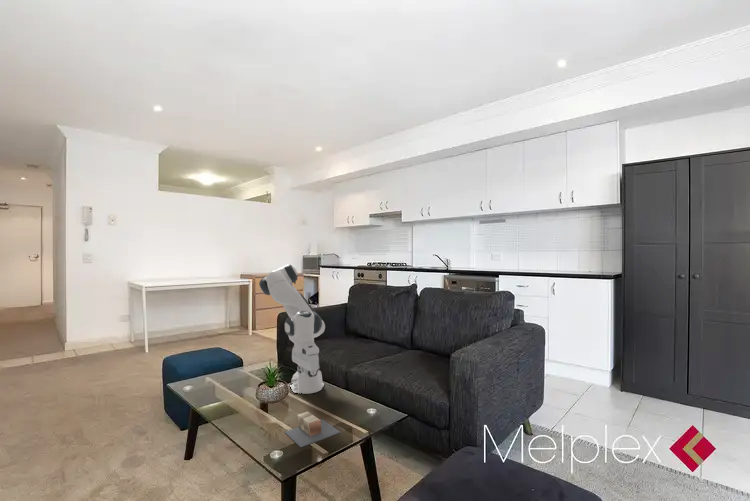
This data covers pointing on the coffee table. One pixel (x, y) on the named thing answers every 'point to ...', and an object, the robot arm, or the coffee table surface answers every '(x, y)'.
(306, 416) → the birch block
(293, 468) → the coffee table surface
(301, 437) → the rubber mat
